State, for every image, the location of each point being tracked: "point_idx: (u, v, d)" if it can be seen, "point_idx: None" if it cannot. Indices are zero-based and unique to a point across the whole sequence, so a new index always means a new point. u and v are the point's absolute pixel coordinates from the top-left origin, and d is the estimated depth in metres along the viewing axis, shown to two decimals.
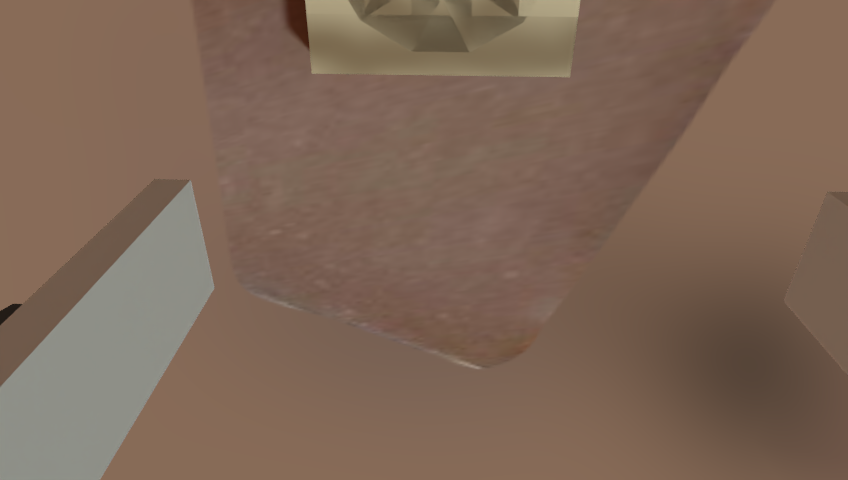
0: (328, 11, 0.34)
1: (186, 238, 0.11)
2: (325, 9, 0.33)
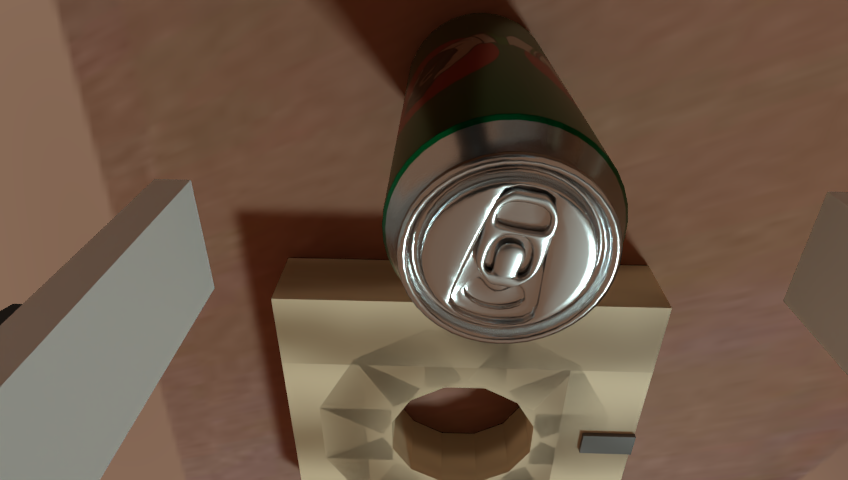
0: None
1: (186, 238, 0.11)
2: None
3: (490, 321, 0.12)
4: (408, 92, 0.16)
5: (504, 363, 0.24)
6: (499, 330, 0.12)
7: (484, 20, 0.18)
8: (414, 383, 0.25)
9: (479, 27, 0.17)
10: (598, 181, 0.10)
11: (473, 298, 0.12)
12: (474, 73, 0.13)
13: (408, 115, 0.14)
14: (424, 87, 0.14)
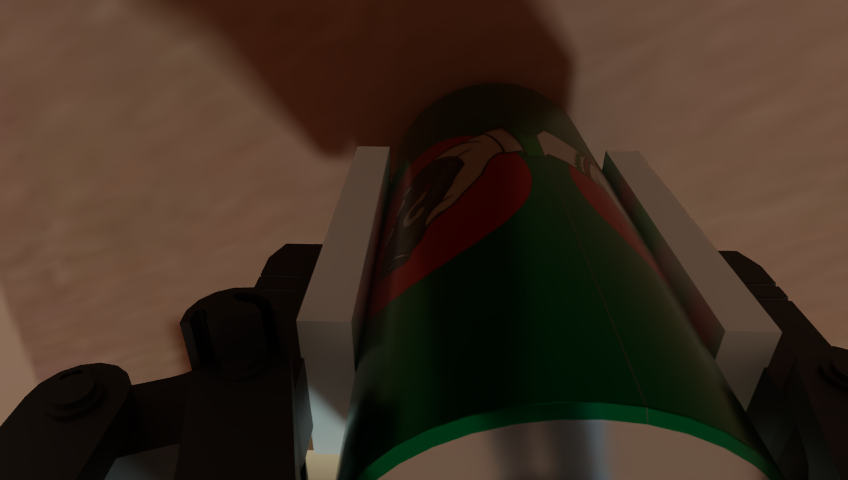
0: None
1: (388, 197, 0.13)
2: None
3: None
4: (389, 217, 0.11)
5: None
6: None
7: (500, 99, 0.13)
8: None
9: (494, 114, 0.12)
10: None
11: None
12: (494, 235, 0.08)
13: (383, 290, 0.08)
14: (410, 237, 0.09)
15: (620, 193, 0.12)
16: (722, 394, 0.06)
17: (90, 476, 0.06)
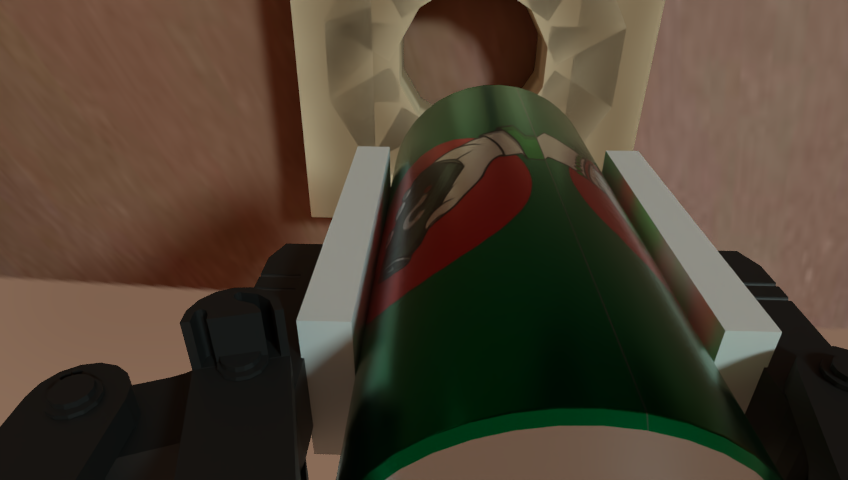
0: None
1: (388, 197, 0.13)
2: None
3: None
4: (389, 220, 0.11)
5: (364, 25, 0.25)
6: None
7: (501, 101, 0.13)
8: (395, 112, 0.27)
9: (495, 116, 0.12)
10: None
11: None
12: (495, 240, 0.08)
13: (383, 294, 0.08)
14: (410, 240, 0.09)
15: (620, 193, 0.12)
16: (723, 399, 0.06)
17: (90, 476, 0.06)
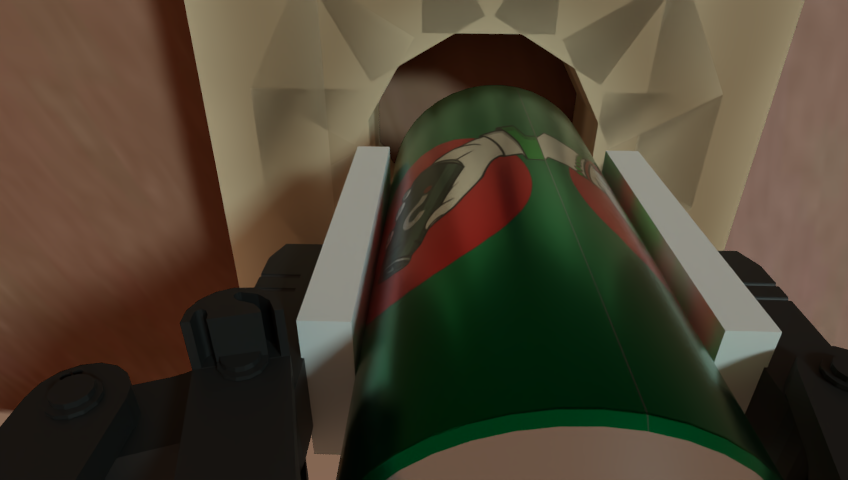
0: None
1: (388, 197, 0.13)
2: None
3: None
4: (389, 220, 0.11)
5: (312, 94, 0.16)
6: None
7: (501, 101, 0.13)
8: None
9: (494, 117, 0.12)
10: None
11: None
12: (494, 240, 0.08)
13: (383, 294, 0.08)
14: (410, 240, 0.09)
15: (620, 193, 0.12)
16: (723, 400, 0.06)
17: (90, 476, 0.06)
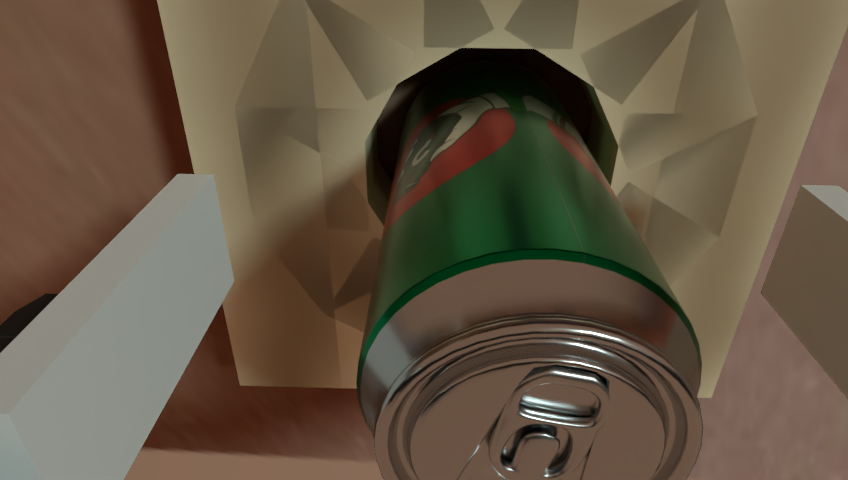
0: None
1: (209, 231, 0.12)
2: None
3: None
4: (399, 165, 0.13)
5: (303, 113, 0.15)
6: None
7: (493, 71, 0.15)
8: (363, 244, 0.16)
9: (487, 82, 0.14)
10: (668, 349, 0.07)
11: None
12: (484, 162, 0.10)
13: (397, 210, 0.11)
14: (418, 171, 0.11)
15: (838, 237, 0.11)
16: (644, 259, 0.08)
17: None
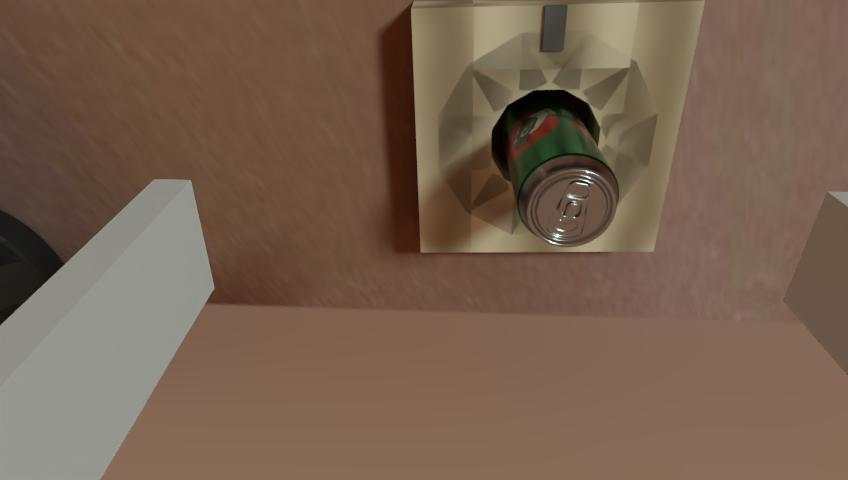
0: (602, 235, 0.38)
1: (186, 238, 0.11)
2: (600, 237, 0.39)
3: (563, 237, 0.28)
4: (512, 138, 0.33)
5: (467, 118, 0.35)
6: (566, 241, 0.29)
7: (546, 98, 0.35)
8: (487, 176, 0.37)
9: (545, 103, 0.34)
10: (606, 178, 0.27)
11: (556, 228, 0.28)
12: (551, 132, 0.30)
13: (519, 151, 0.31)
14: (525, 138, 0.31)
15: None
16: (601, 157, 0.28)
17: None
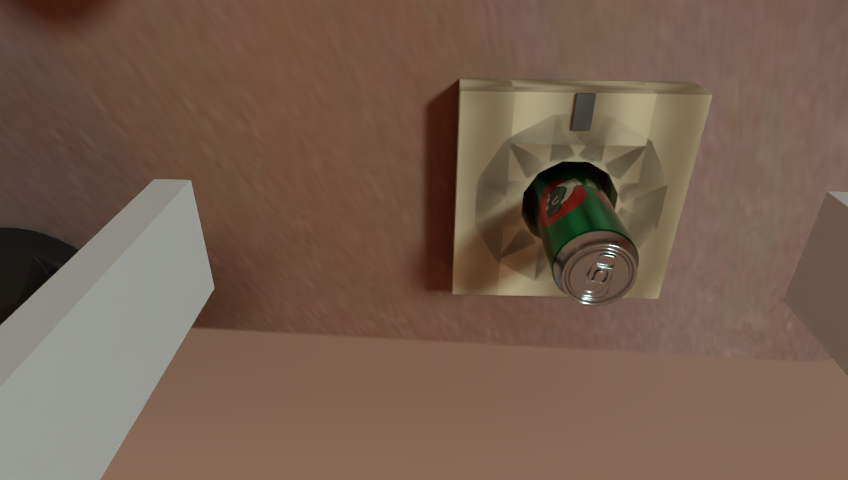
0: None
1: (186, 238, 0.11)
2: None
3: (590, 298, 0.33)
4: (542, 203, 0.38)
5: (502, 182, 0.40)
6: (593, 301, 0.34)
7: (571, 166, 0.40)
8: (517, 231, 0.41)
9: (571, 172, 0.39)
10: (629, 251, 0.32)
11: (584, 289, 0.33)
12: (580, 205, 0.35)
13: (552, 219, 0.36)
14: (557, 207, 0.36)
15: None
16: (624, 231, 0.33)
17: None
